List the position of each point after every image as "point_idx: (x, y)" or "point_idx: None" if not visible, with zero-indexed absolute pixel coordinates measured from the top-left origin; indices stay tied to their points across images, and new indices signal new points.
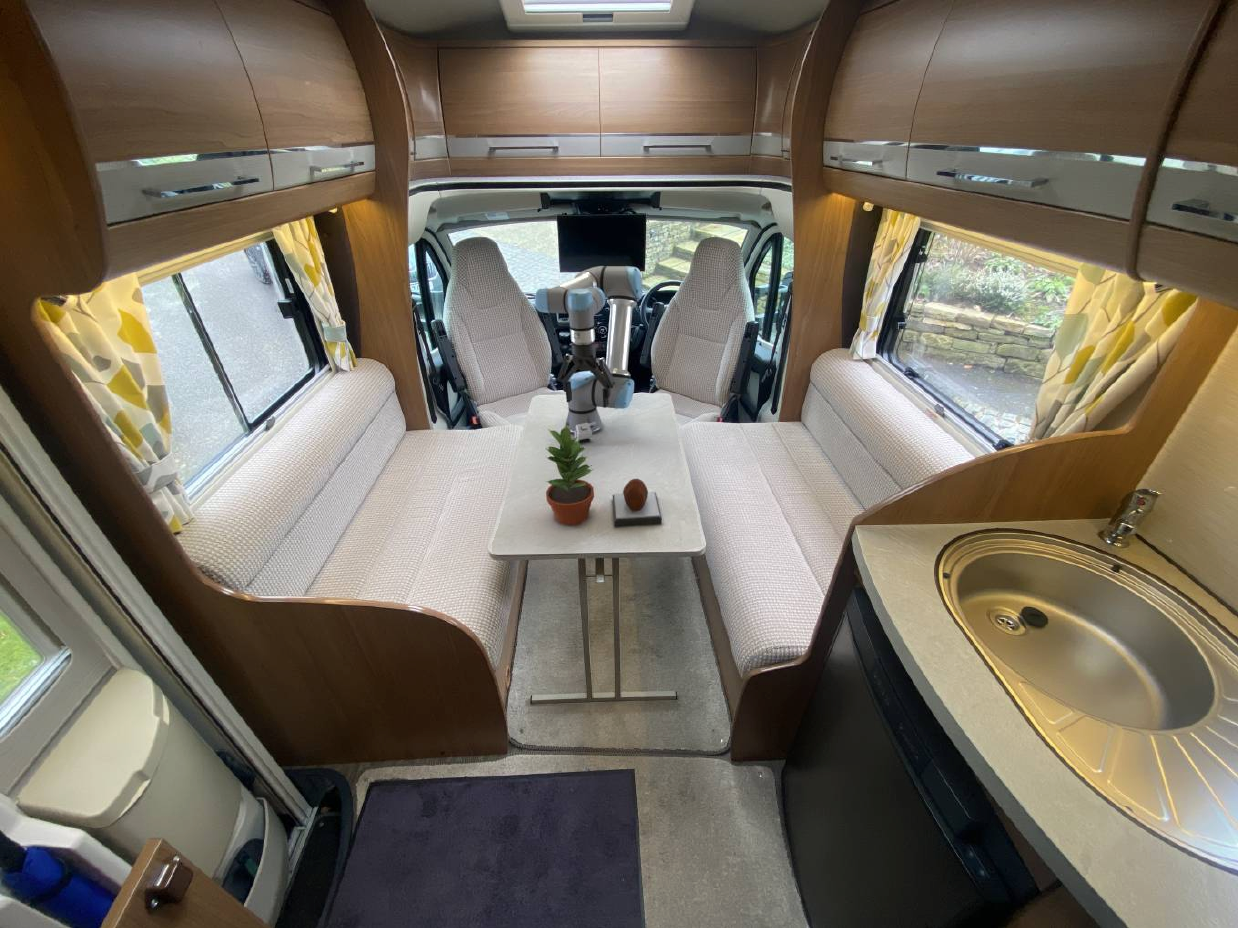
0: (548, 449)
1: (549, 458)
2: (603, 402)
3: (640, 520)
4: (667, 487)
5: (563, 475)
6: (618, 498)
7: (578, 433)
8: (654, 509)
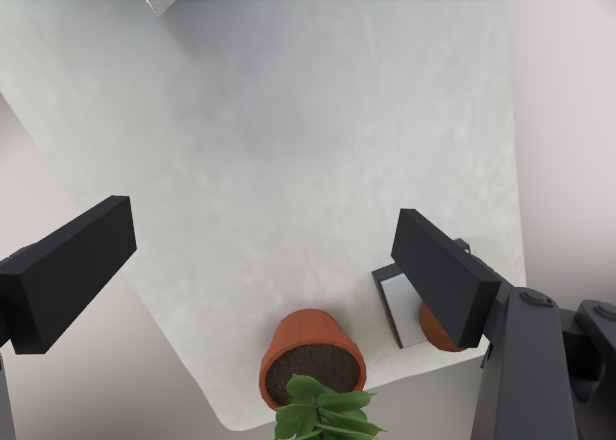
0: None
1: None
2: (406, 273)
3: None
4: (484, 189)
5: (301, 414)
6: (395, 296)
7: (155, 12)
8: None
